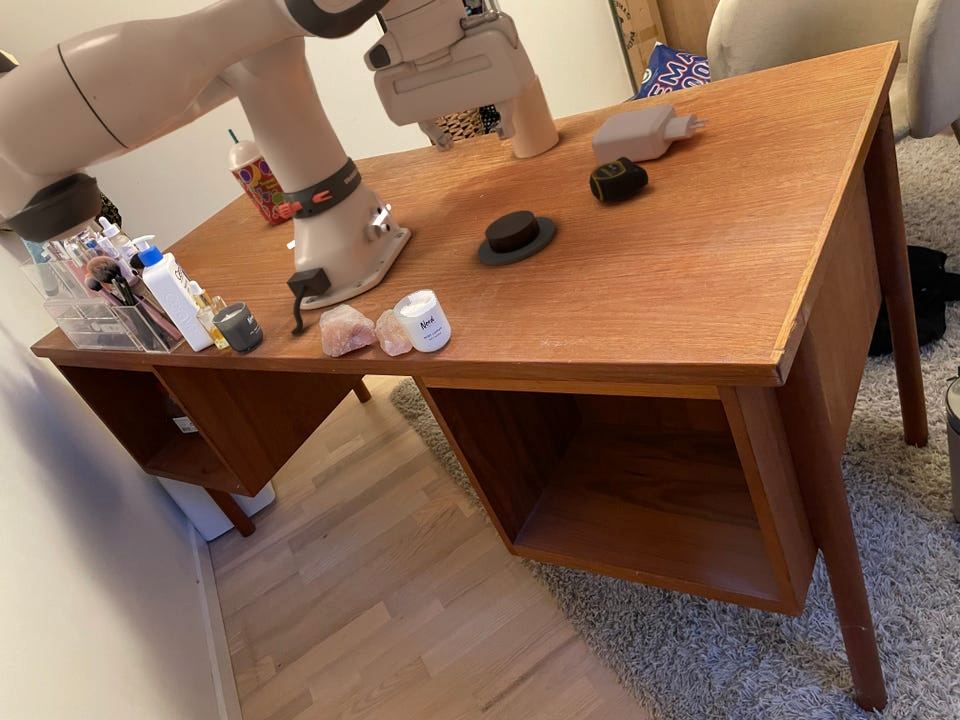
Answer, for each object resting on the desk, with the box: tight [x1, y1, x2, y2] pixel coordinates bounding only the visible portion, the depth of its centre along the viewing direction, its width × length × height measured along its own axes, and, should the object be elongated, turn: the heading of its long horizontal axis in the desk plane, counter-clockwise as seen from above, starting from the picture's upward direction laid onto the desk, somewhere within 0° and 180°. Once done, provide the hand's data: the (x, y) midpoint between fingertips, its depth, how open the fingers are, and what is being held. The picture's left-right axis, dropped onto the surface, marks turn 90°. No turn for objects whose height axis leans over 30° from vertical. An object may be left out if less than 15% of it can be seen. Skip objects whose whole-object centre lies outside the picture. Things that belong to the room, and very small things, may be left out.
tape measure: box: [588, 157, 649, 203], centre depth 90 cm, size 7×7×4 cm
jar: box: [498, 73, 560, 159], centre depth 115 cm, size 8×8×13 cm
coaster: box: [477, 216, 557, 266], centre depth 92 cm, size 11×11×1 cm
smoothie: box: [227, 128, 292, 226], centre depth 139 cm, size 8×8×20 cm
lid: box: [484, 209, 540, 254], centre depth 91 cm, size 7×7×2 cm
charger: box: [591, 103, 709, 167], centre depth 97 cm, size 5×9×15 cm
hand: (476, 143), depth 84 cm, fingers open, 8 cm apart
